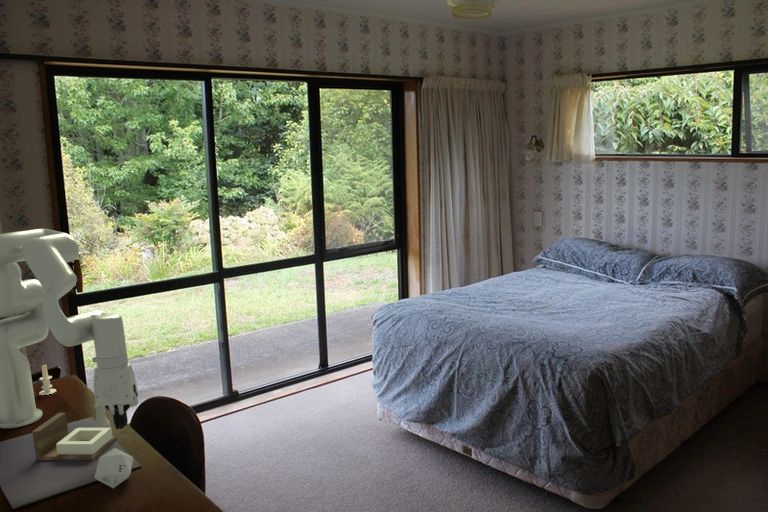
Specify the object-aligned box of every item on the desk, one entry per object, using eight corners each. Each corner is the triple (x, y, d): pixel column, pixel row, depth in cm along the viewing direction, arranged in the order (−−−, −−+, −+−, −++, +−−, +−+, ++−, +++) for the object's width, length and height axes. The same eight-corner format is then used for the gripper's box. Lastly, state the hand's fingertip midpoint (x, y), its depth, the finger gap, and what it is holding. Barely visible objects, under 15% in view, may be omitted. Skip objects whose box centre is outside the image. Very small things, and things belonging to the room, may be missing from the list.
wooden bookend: (36, 459, 173) (32, 431, 172) (62, 439, 185) (58, 412, 184) (93, 460, 172) (89, 431, 170) (116, 439, 183) (113, 412, 182)
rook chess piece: (104, 432, 188) (101, 406, 187) (90, 431, 189) (87, 405, 188) (114, 425, 193) (110, 400, 191) (100, 425, 194) (97, 399, 192)
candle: (35, 395, 220) (31, 366, 218) (46, 390, 225) (41, 361, 223) (49, 396, 219) (45, 366, 218) (59, 390, 224) (55, 361, 223)
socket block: (57, 454, 173) (56, 444, 173) (78, 437, 183) (77, 427, 183) (93, 454, 172) (91, 444, 172) (112, 437, 182) (111, 427, 182)
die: (91, 496, 155) (107, 469, 152) (87, 466, 161) (102, 439, 157) (125, 495, 160) (141, 469, 157) (120, 466, 166) (135, 440, 163)
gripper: (77, 366, 170) (87, 433, 173) (132, 364, 168) (141, 432, 171) (93, 357, 177) (102, 421, 180) (146, 355, 175) (154, 420, 178)
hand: (121, 426), depth 175 cm, fingers closed
